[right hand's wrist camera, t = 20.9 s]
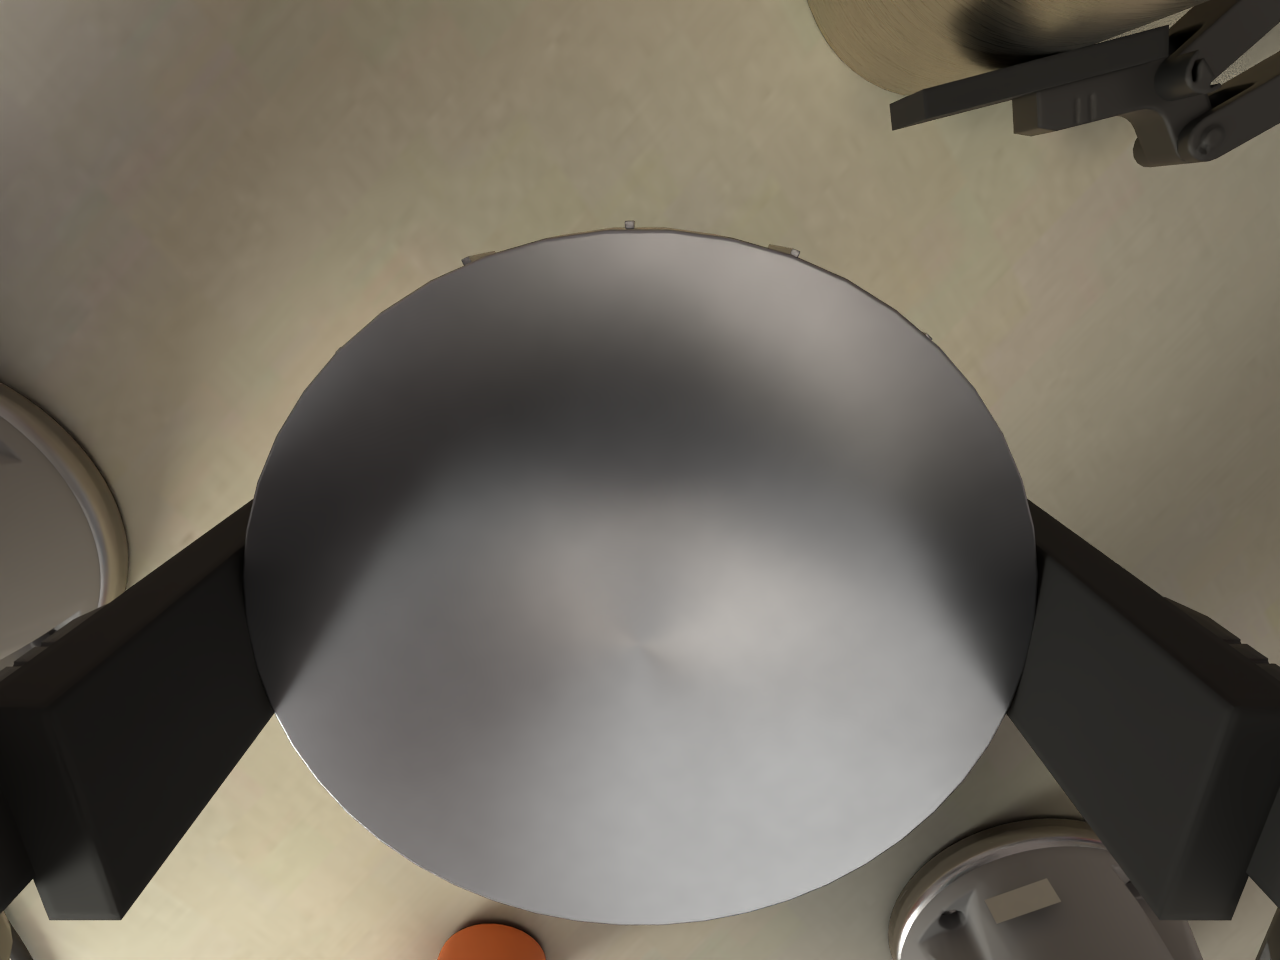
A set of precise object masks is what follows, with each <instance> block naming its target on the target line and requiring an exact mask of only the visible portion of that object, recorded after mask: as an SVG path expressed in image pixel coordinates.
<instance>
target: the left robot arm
mask: <svg viewBox="0 0 1280 960" xmlns="http://www.w3.org/2000/svg"><path fill="white" fill-rule="evenodd" d="M1279 22H1280V0H1209V1H1206V2H1204V3H1201V4H1199V5H1196V6H1194V7H1193V8H1192V9H1191V10H1189V11H1188V12H1187V13H1186V14H1185V15H1184V16H1183V17H1182V18H1181V19H1180V20H1178V21H1177V22H1176V23H1175V24H1174V25H1173V26H1172V27H1171V28H1170V29H1169V25H1166V26H1162V27H1158V28H1155V29H1151V30H1147V31H1143V32H1139V33H1135V34H1132V35H1128V36H1124V37H1120V38H1116V39H1113V40H1109V41H1105V42H1101V43H1097V44H1094V45H1090V46H1086V47H1082V48H1078V49H1075V50H1071V51H1067V52H1063V53H1059V54H1055V55H1052V56H1048V57H1044V58H1040V59H1036V60H1033V61H1029V62H1025V63H1021V64H1017V65H1014V66H1010V67H1006V68H1002V69H998V70H994V71H991V72H987V73H983V74H979V75H975V76H972V77H968V78H964V79H960V80H956V81H953V82H949V83H945V84H941V85H937V86H933V87H930V88H926V89H922V90H920V91H918V92H916V93H914V94H911V95H909V96H907V97H905V98H902V99H900V100H898V101H896V102H894V103H891V104H890V113H891V122H892V131H893V130H896V129H900V128H904V127H908V126H912V125H916V124H920V123H924V122H927V121H931V120H935V119H939V118H943V117H947V116H951V115H954V114H958V113H962V112H966V111H970V110H974V109H978V108H981V107H985V106H989V105H993V104H997V103H1001V102H1005V101H1009V100H1012V105H1013V124H1014V133H1015V134H1021V135H1027V136H1034V135H1039V134H1044V133H1049V132H1054V131H1058V130H1062V129H1066V128H1070V127H1074V126H1078V125H1082V124H1086V123H1090V122H1093V121H1097V120H1101V119H1105V118H1109V117H1113V116H1121V117H1124V118H1126V119H1127V120H1128V121H1129V122H1131V124H1132V125H1133V127H1134V129H1135V132H1136V134H1137V137H1138V138H1137V139H1136V141H1135V144H1134V148H1133V154H1134V158H1135V160H1136V162H1137V163H1138V164H1140V165H1141V166H1143V167H1156V166H1166V165H1176V164H1186V163H1196V162H1206V161H1211V160H1213V159H1216V158H1218V157H1220V156H1222V155H1224V154H1225V153H1227V152H1229V151H1231V150H1233V149H1234V148H1236V147H1238V146H1240V145H1241V144H1243V143H1245V142H1247V141H1249V140H1250V139H1252V138H1254V137H1256V136H1257V135H1259V134H1261V133H1263V132H1265V131H1266V130H1268V129H1270V128H1272V127H1273V126H1275V125H1277V124H1279V123H1280V51H1279V52H1277V53H1276V54H1274V55H1272V56H1270V57H1269V58H1267V59H1265V60H1263V61H1262V62H1260V63H1258V64H1257V65H1255V66H1253V67H1251V68H1250V69H1248V70H1246V71H1244V72H1243V73H1241V74H1239V75H1238V76H1236V77H1234V78H1232V79H1231V80H1229V81H1227V82H1225V83H1224V84H1222V85H1221V84H1220V83H1218V84H1214V85H1210V84H1211V82H1212V81H1213V80H1214V79H1215V78H1216V77H1218V76H1219V75H1220V74H1221V73H1222V72H1223V71H1224V70H1225V69H1227V68H1228V67H1229V66H1230V65H1231V64H1232V63H1233V62H1235V61H1236V60H1237V59H1238V58H1239V57H1240V56H1241V55H1243V54H1244V53H1245V52H1246V51H1247V50H1248V49H1249V48H1251V47H1252V46H1253V45H1254V44H1255V43H1256V42H1257V41H1258V40H1260V39H1261V38H1262V37H1263V36H1264V35H1265V34H1266V33H1268V32H1269V31H1270V30H1271V29H1272V28H1273V27H1274V26H1276V25H1277V24H1278V23H1279ZM888 939H889V947H890V951H891V955H892V958H893V960H1203V958H1202V956H1201V953H1200V951H1199V948H1198V946H1197V943H1196V941H1195V938H1194V936H1193V933H1192V931H1191V928H1190V926H1189V923H1188V921H1187V920H1159V919H1158V917H1157V916H1156V915H1155V913H1154V912H1153V911H1152V909H1151V908H1150V907H1149V905H1148V904H1147V903H1146V901H1145V900H1144V899H1143V897H1142V896H1141V894H1140V893H1139V892H1138V890H1137V889H1136V888H1135V886H1134V885H1133V884H1132V882H1131V881H1130V880H1129V878H1128V877H1127V876H1126V874H1125V873H1124V872H1123V870H1122V869H1121V867H1120V866H1119V865H1118V863H1117V862H1116V861H1115V859H1114V858H1113V857H1112V855H1111V854H1110V853H1109V851H1108V850H1107V849H1106V847H1105V846H1104V845H1103V843H1102V842H1101V840H1100V839H1099V838H1098V836H1097V835H1096V834H1095V832H1094V831H1093V830H1092V828H1091V827H1090V826H1089V824H1088V823H1087V822H1084V821H1078V820H1072V819H1059V818H1044V819H1031V820H1024V821H1017V822H1012V823H1008V824H1003V825H999V826H996V827H993V828H989V829H986V830H984V831H981V832H978V833H976V834H973V835H971V836H969V837H967V838H965V839H962V840H960V841H959V842H957V843H955V844H953V845H951V846H950V847H948V848H946V849H945V850H943V851H942V852H940V853H939V854H937V855H936V856H935V857H934V858H932V859H931V860H930V861H928V862H927V863H926V864H925V865H924V866H923V867H922V868H921V869H920V870H919V871H918V872H917V873H916V874H915V875H914V876H913V877H912V878H911V879H910V881H909V882H908V883H907V885H906V886H905V887H904V889H903V890H902V892H901V894H900V895H899V897H898V899H897V901H896V903H895V906H894V908H893V911H892V914H891V917H890V922H889V931H888Z"/></svg>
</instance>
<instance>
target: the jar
mask: <svg viewBox="0 0 1280 960" xmlns="http://www.w3.org/2000/svg"><path fill="white" fill-rule="evenodd" d="M1206 1H1209V0H808V4H809V7H810V9H811V12H812V14H813V16H814V19H815V21H816V23H817V26H818V27H819V29H820V31H821V32H822V34H823V36H824V37H825V39H826V41H827V43H828V44H829V45H830V46H831V48H832V49H833V50H834V51H835V53H836V54H837V55H838V57H839V58H840V59H841V60H842V61H843V62H844V63H846V64H847V65H848V66H849V67H850V68H851V69H852V70H853V71H854V72H856V73H857V74H859V75H860V76H861V77H863V78H864V79H866V80H867V81H869V82H871V83H873V84H875V85H877V86H879V87H881V88H883V89H885V90H888V91H891V92H895V93H898V94H901V95H907V96H909V95H911V94H914V93H916V92H918V91H920V90H922V89H926V88H930V87H933V86H937V85H941V84H945V83H949V82H953V81H956V80H960V79H964V78H968V77H972V76H975V75H979V74H983V73H987V72H991V71H994V70H998V69H1002V68H1006V67H1010V66H1014V65H1017V64H1021V63H1025V62H1029V61H1033V60H1036V59H1040V58H1044V57H1048V56H1052V55H1055V54H1059V53H1063V52H1067V51H1071V50H1075V49H1078V48H1082V47H1086V46H1090V45H1093V44H1096V43H1099V42H1101V41H1104V40H1106V39H1109V38H1112V37H1114V36H1117V35H1120V34H1122V33H1125V32H1128V31H1130V30H1133V29H1135V28H1138V27H1141V26H1143V25H1146V24H1149V23H1151V22H1154V21H1156V20H1159V19H1162V18H1164V17H1167V16H1170V15H1172V14H1175V13H1177V12H1180V11H1183V10H1185V9H1188V8H1191V7H1193V6H1196V5H1199V4H1201V3H1204V2H1206Z"/></svg>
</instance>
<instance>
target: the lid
mask: <svg viewBox="0 0 1280 960" xmlns="http://www.w3.org/2000/svg"><path fill="white" fill-rule="evenodd" d="M799 254H800V251H798V250H795V249H792V248H787V247H782V246H776V245H771V244H769V246H768V248H766V247H763V246H759V245H756V244H752V243H749V242H745V241H742V240H738V239H734V238H730V237H725V236H720V235H715V234H709V233H701V232H694V231H687V230H679V229H672V228H665V227H644V228H635V221H625V228H607V229H601V230H594V231H587V232H580V233H573V234H566V235H560V236H555V237H550V238H545V239H542V240H538V241H535V242H531V243H528V244H524V245H521V246H518V247H514V248H511V249H507V250H504V251H500V252H497V253H496V252H495V251H492V252H487V253H482V254H478V255H473V256H468V257H466V258H464V259H462V263H463V265H464V266H462V267H460V268H458V269H455V270H453V271H451V272H449V273H447V274H444V275H442V276H440V277H438V278H435V279H433V280H431V281H429V282H428V283H426V284H425V285H423V286H422V287H420V288H418V289H417V290H415V291H414V292H412V293H411V294H409V295H408V296H406V297H404V298H403V299H401V300H400V301H398V302H397V303H395V304H393V305H392V306H390V307H389V308H387V309H386V310H384V311H383V312H381V313H380V314H379V315H378V316H377V317H375V318H374V319H373V320H372V321H371V322H370V323H369V324H367V325H366V326H365V327H364V328H363V329H362V330H361V331H359V332H358V333H357V334H356V335H355V336H354V337H353V338H351V339H350V340H349V341H348V342H347V343H346V344H345V345H343V346H342V347H340V348H339V349H338V350H337V351H336V353H335V355H334V356H333V357H332V358H331V359H330V361H329V362H328V363H327V364H326V365H325V366H324V368H323V369H322V370H321V371H320V372H319V374H318V375H317V376H316V377H315V378H314V379H313V381H312V382H311V383H310V384H309V385H308V387H307V388H306V389H305V390H304V392H303V393H302V395H301V396H300V398H299V400H298V401H297V403H296V405H295V406H294V408H293V410H292V411H291V413H290V415H289V416H288V418H287V419H286V421H285V423H284V424H283V426H282V428H281V429H280V431H279V433H278V434H277V436H276V439H275V441H274V443H273V446H272V448H271V451H270V453H269V456H268V458H267V460H266V463H265V465H264V468H263V470H262V473H261V475H260V477H259V480H258V483H257V487H256V491H255V495H254V499H253V504H252V508H251V512H250V516H249V520H248V525H247V529H246V539H245V552H244V565H243V590H244V604H245V616H246V622H247V626H248V631H249V635H250V640H251V644H252V649H253V653H254V658H255V662H256V667H257V671H258V674H259V676H260V679H261V681H262V684H263V687H264V689H265V692H266V695H267V697H268V700H269V702H270V705H271V708H272V710H273V711H274V713H275V715H276V717H277V719H278V721H279V722H280V724H281V726H282V728H283V730H284V732H285V733H286V735H287V737H288V739H289V741H290V743H291V744H292V746H293V748H294V749H295V750H296V752H297V753H298V755H299V756H300V757H301V759H302V760H303V761H304V763H305V764H306V766H307V767H308V768H309V770H310V771H311V772H312V774H313V775H314V777H315V778H316V779H317V781H318V782H319V783H320V784H321V785H322V786H323V787H324V788H325V789H326V790H327V792H328V793H329V794H330V795H331V796H332V797H333V798H334V799H335V800H336V801H337V802H338V803H339V804H340V805H341V807H342V808H343V809H344V810H345V811H346V812H347V813H348V814H349V815H351V816H352V817H353V818H354V819H355V820H356V821H358V822H359V823H360V824H361V825H362V826H363V827H365V828H366V829H367V830H368V831H369V832H371V833H372V834H373V835H374V836H375V837H376V838H378V839H379V840H380V841H381V842H383V843H384V844H386V845H387V846H389V847H390V848H392V849H393V850H395V851H396V852H398V853H399V854H401V855H402V856H404V857H405V858H407V859H408V860H410V861H411V862H413V863H414V864H416V865H417V866H419V867H421V868H423V869H425V870H427V871H429V872H431V873H432V874H434V875H436V876H438V877H440V878H442V879H444V880H446V881H448V882H450V883H451V884H453V885H456V886H458V887H461V888H463V889H465V890H468V891H470V892H473V893H475V894H478V895H480V896H483V897H485V898H488V899H490V900H493V901H496V902H499V903H503V904H506V905H509V906H513V907H516V908H520V909H523V910H526V911H530V912H533V913H538V914H543V915H548V916H553V917H559V918H564V919H569V920H574V921H582V922H593V923H604V924H615V925H667V924H677V923H688V922H698V921H707V920H712V919H717V918H722V917H727V916H733V915H738V914H743V913H748V912H751V911H755V910H758V909H761V908H765V907H768V906H771V905H775V904H778V903H782V902H785V901H788V900H791V899H793V898H796V897H798V896H801V895H803V894H806V893H808V892H810V891H813V890H815V889H818V888H820V887H823V886H825V885H828V884H830V883H832V882H833V881H835V880H837V879H839V878H841V877H843V876H845V875H846V874H848V873H850V872H852V871H854V870H856V869H858V868H860V867H861V866H863V865H865V864H867V863H868V862H870V861H871V860H873V859H874V858H876V857H877V856H879V855H880V854H882V853H883V852H885V851H886V850H888V849H889V848H890V847H892V846H893V845H895V844H896V843H898V842H899V841H901V840H902V839H903V838H904V837H906V836H907V835H908V834H909V833H910V832H911V831H913V830H914V829H915V828H916V827H917V826H918V825H920V824H921V823H922V822H923V821H924V820H925V819H927V818H928V817H929V816H930V815H931V814H932V813H934V812H935V811H936V810H937V809H938V807H939V806H940V805H941V804H942V803H943V802H944V801H945V800H946V799H947V798H948V797H949V796H950V794H951V793H952V792H953V791H954V790H955V789H956V788H957V787H958V786H959V785H960V784H961V783H962V781H963V780H964V779H965V778H966V776H967V775H968V774H969V772H970V771H971V769H972V768H973V767H974V765H975V764H976V762H977V761H978V760H979V758H980V757H981V755H982V754H983V753H984V751H985V750H986V748H987V747H988V746H989V744H990V742H991V741H992V739H993V737H994V735H995V733H996V731H997V729H998V727H999V726H1000V724H1001V722H1002V720H1003V718H1004V716H1005V714H1006V713H1007V711H1008V709H1009V707H1010V705H1011V702H1012V699H1013V697H1014V694H1015V691H1016V689H1017V686H1018V683H1019V681H1020V678H1021V675H1022V673H1023V670H1024V666H1025V662H1026V657H1027V653H1028V648H1029V644H1030V639H1031V634H1032V630H1033V625H1034V621H1035V614H1036V599H1037V583H1038V568H1037V557H1036V545H1035V534H1034V526H1033V522H1032V517H1031V513H1030V509H1029V505H1028V501H1027V497H1026V493H1025V489H1024V485H1023V481H1022V478H1021V476H1020V473H1019V471H1018V469H1017V466H1016V464H1015V461H1014V459H1013V457H1012V454H1011V452H1010V450H1009V447H1008V445H1007V443H1006V440H1005V438H1004V435H1003V433H1002V431H1001V430H1000V428H999V427H998V425H997V423H996V422H995V420H994V419H993V417H992V415H991V414H990V412H989V410H988V409H987V407H986V406H985V404H984V402H983V401H982V399H981V398H980V396H979V394H978V393H977V391H976V390H975V388H974V387H973V386H972V385H971V383H970V382H969V381H968V380H967V379H966V378H965V376H964V375H963V374H962V373H961V372H960V371H959V369H958V368H957V367H956V366H955V365H954V364H953V362H952V361H951V360H950V359H949V358H948V357H947V355H946V354H945V353H944V352H943V351H942V350H941V349H940V347H939V346H937V345H936V344H935V343H934V342H933V341H932V338H931V337H930V336H929V335H928V334H926V333H924V332H921V331H920V330H919V329H918V328H916V327H915V326H914V325H913V324H912V323H911V322H909V321H908V320H907V319H906V318H905V317H904V316H902V315H901V314H900V313H899V312H898V311H897V310H895V309H894V308H892V307H890V306H889V305H887V304H886V303H884V302H882V301H881V300H879V299H878V298H876V297H874V296H873V295H871V294H870V293H868V292H867V291H865V290H863V289H862V288H860V287H859V286H857V285H855V284H854V283H852V282H851V281H849V280H847V279H845V278H843V277H841V276H839V275H836V274H834V273H832V272H830V271H827V270H825V269H823V268H821V267H818V266H816V265H814V264H812V263H809V262H807V261H805V260H803V259H800V258H798V256H799Z"/></svg>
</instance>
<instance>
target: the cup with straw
mask: <svg viewBox="0 0 1280 960" xmlns="http://www.w3.org/2000/svg"><path fill="white" fill-rule="evenodd" d="M437 960H546V959H545V955H544V952H543V950H542V948H541V947H540V945H539V944H538V943H537V942H536V941H535V940H534V939H533V938H532V937H531V936H529V935H528V934H526V933H525V932H523V931H521V930H519V929H516V928H513V927H510V926H506V925H501V924H479V925H474V926H470V927H467V928H465V929H462V930H460V931H458V932H457V933H455V934H454V935H453V936H451V937H450V938H449V939H448V940H447V941H446V943H445V944H444V946H443V947H442V949H441V952H440V954H439V957H438V959H437Z"/></svg>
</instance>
